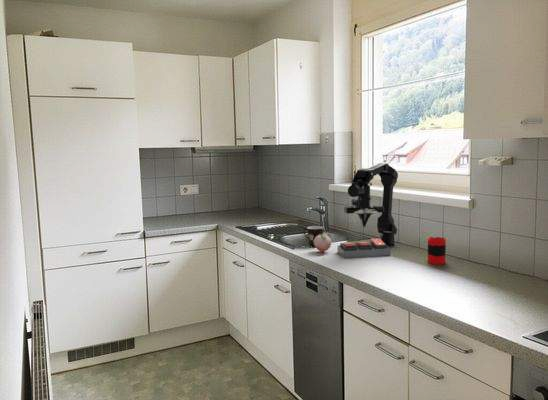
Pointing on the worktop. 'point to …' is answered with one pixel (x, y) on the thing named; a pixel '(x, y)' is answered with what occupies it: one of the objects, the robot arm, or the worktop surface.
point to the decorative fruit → (322, 242)
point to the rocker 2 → (377, 241)
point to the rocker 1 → (348, 244)
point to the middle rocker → (363, 243)
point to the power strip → (363, 250)
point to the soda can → (436, 249)
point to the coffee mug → (313, 233)
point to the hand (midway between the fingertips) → (363, 226)
